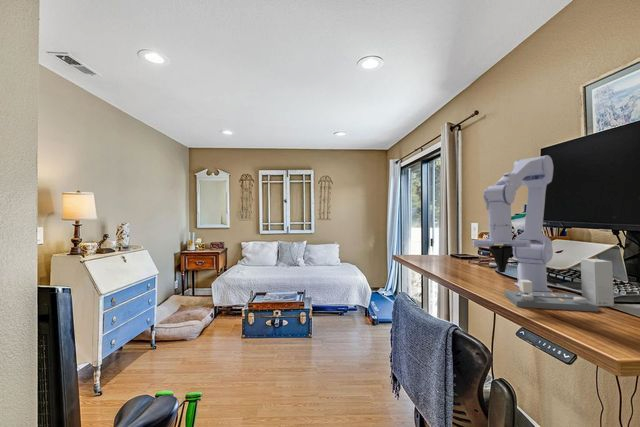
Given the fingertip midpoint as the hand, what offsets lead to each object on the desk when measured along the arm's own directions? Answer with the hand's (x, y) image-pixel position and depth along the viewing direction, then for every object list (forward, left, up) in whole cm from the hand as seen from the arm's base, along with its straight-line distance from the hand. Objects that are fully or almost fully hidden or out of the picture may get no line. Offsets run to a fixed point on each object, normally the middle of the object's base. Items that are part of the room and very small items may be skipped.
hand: (501, 271), depth 87 cm
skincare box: (-2, +24, -9) cm, 25 cm away
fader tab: (0, +6, -7) cm, 9 cm away
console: (0, +11, -8) cm, 14 cm away
